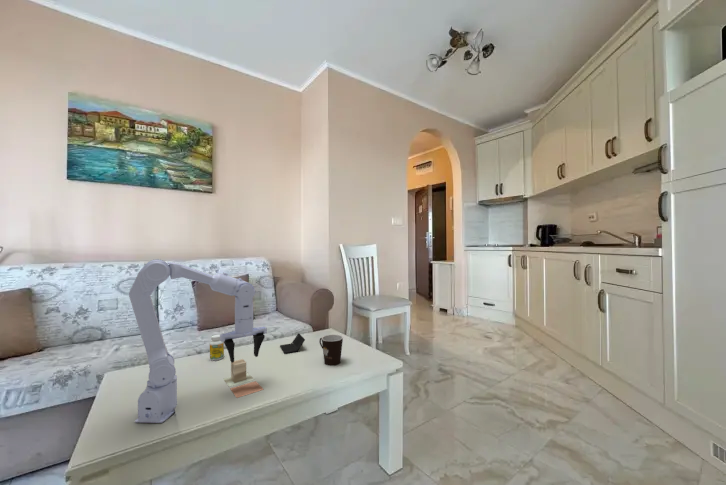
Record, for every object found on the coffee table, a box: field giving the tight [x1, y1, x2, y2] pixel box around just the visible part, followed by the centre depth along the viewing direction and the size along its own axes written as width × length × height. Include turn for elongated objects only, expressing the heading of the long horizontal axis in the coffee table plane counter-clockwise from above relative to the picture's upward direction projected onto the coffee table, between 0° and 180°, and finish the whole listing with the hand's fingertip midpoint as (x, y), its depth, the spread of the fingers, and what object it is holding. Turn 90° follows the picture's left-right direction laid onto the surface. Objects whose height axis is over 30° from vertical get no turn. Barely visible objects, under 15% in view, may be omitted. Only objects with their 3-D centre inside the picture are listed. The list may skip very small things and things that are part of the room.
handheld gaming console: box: [279, 332, 306, 355], centre depth 138 cm, size 12×7×10 cm
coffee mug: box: [319, 334, 344, 367], centre depth 124 cm, size 12×9×10 cm
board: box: [223, 371, 264, 399], centre depth 102 cm, size 18×10×1 cm, turn 38°
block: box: [230, 358, 247, 383], centre depth 105 cm, size 4×4×6 cm
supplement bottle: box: [209, 334, 225, 362], centre depth 127 cm, size 5×5×10 cm
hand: (244, 358), depth 100 cm, fingers open, 7 cm apart
